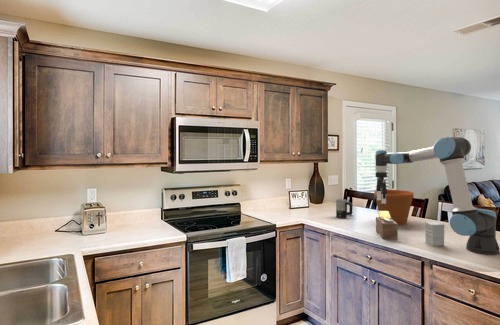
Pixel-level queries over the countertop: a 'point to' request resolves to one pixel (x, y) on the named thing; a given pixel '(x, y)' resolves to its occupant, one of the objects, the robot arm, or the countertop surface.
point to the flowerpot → (396, 204)
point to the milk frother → (343, 208)
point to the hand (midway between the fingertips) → (381, 201)
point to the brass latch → (384, 214)
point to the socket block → (386, 229)
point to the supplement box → (434, 233)
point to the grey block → (388, 220)
